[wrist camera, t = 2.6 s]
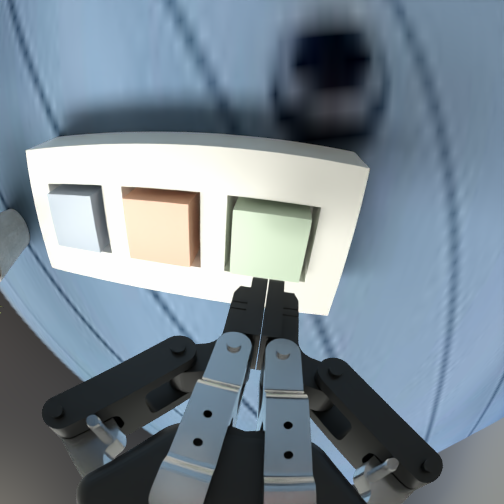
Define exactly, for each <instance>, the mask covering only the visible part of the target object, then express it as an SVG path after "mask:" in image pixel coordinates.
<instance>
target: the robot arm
mask: <svg viewBox="0 0 504 504" xmlns="http://www.w3.org/2000/svg"><path fill="white" fill-rule="evenodd" d="M267 284H268V279H266V278H258V277H253V279H252V284H251V287H245V286H240V287H239V288H238V289H237V290H236V291H235V292H234V294H233V298H232V302H231V305H230V309H229V313H228V316H227V320H226V324H225V327H224V331H223V334H222V335H221V336H220V337H219V338H218V339H217V340H215V341H213V342H211V343H206V344H195V343H194V342H193V341H192V340H191V339H190V338H188V337H185V336H173V337H170V338H168V339H166V340H164V341H162V342H161V343H159V344H157V345H155V346H153V347H151V348H149V349H147V350H146V351H144V352H142V353H140V354H138V355H136V356H134V357H132V358H130V359H128V360H126V361H124V362H123V363H121V364H119V365H117V366H115V367H113V368H111V369H109V370H107V371H105V372H103V373H101V374H99V375H97V376H95V377H93V378H91V379H89V380H87V381H85V382H83V383H81V384H79V385H77V386H75V387H73V388H71V389H69V390H67V391H65V392H63V393H60V394H58V395H57V396H54V397H52V398H50V399H49V400H48V401H47V402H46V403H45V404H44V406H43V409H42V417H43V420H44V422H45V423H46V424H47V425H48V426H49V427H50V428H51V429H52V430H53V431H54V432H55V433H56V434H57V435H58V436H59V437H60V438H61V439H62V441H63V443H64V445H65V447H66V449H67V451H68V453H69V455H70V457H71V459H72V460H73V462H74V464H75V465H76V468H77V469H78V471H79V473H80V475H81V476H82V478H83V479H82V480H81V482H80V483H79V485H78V488H77V492H76V502H77V504H402V503H403V502H404V501H405V500H406V498H408V497H409V496H410V495H411V494H412V493H413V491H414V490H416V489H418V488H420V487H423V486H425V485H427V484H429V483H431V482H433V481H434V480H436V479H437V478H438V477H439V476H440V474H441V471H442V468H443V464H442V459H441V457H440V456H439V455H438V453H437V452H436V451H435V450H434V449H432V448H431V447H430V446H429V445H428V444H427V443H426V442H425V441H424V440H423V439H422V438H421V437H420V436H419V435H418V434H417V433H416V432H415V431H414V430H413V429H412V428H411V427H410V426H409V425H408V424H407V423H406V422H405V421H404V420H403V419H402V418H401V417H400V416H399V415H398V414H397V413H396V412H395V411H394V410H393V409H392V408H391V407H390V406H389V405H388V404H387V403H386V402H385V401H384V400H383V399H382V398H381V397H380V396H379V395H378V394H377V393H376V392H375V391H374V390H373V389H372V388H371V387H370V386H369V385H368V384H367V383H366V382H365V381H364V380H363V379H362V378H361V377H360V376H359V375H358V374H357V373H356V372H355V371H354V370H353V369H352V368H351V367H350V366H349V365H348V364H347V363H346V362H345V361H343V360H341V359H338V358H328V359H325V360H323V361H322V362H320V361H318V360H315V359H312V358H310V357H308V356H307V355H305V354H304V353H303V352H302V351H301V349H300V347H299V344H298V323H299V318H298V316H299V311H298V310H299V301H298V299H297V297H296V296H295V294H294V293H289V292H284V285H285V281H281V280H273V279H269V285H268V292H267V298H266V291H267ZM265 298H266V305H265ZM264 306H265V312H264ZM263 313H264V319H263ZM262 320H263V326H262ZM261 327H262V333H261ZM260 334H261V341H260ZM259 341H260V348H259V355H258V362H257V369H256V370H261V374H260V381H259V386H258V408H257V424H256V431H243V430H240V429H237V428H235V426H236V421H237V417H238V413H239V410H240V406H241V402H242V399H243V395H244V391H245V388H246V383H247V381H248V379H249V374H250V369H255V365H256V359H257V353H258V347H259ZM189 398H190V400H189V402H188V405H187V407H186V410H185V412H184V415H183V417H182V420H181V422H180V423H177V424H174V425H171V426H168V427H166V428H164V429H162V430H161V431H159V432H158V433H156V434H155V435H153V436H152V437H150V438H148V439H147V440H145V441H144V442H142V443H141V444H139V445H137V446H136V447H134V448H133V449H131V450H129V451H127V452H126V453H124V454H122V455H121V456H119V457H117V458H115V457H116V456H117V455H118V454H119V453H120V452H122V451H123V449H124V448H125V446H126V436H127V435H128V434H130V433H132V432H134V431H136V430H137V429H139V428H141V427H143V426H145V425H146V424H148V423H150V422H151V421H153V420H155V419H157V418H158V417H160V416H162V415H163V414H165V413H167V412H168V411H170V410H171V409H173V408H175V407H176V406H178V405H180V404H181V403H183V402H184V401H186V400H187V399H189ZM310 418H311V419H312V420H313V421H314V423H315V424H316V425H317V426H318V427H319V428H320V430H321V431H322V432H323V433H324V434H325V435H326V437H327V438H328V439H329V440H330V441H331V442H332V443H333V445H334V446H335V447H336V448H337V449H338V450H339V451H340V453H341V454H342V455H343V456H344V457H345V458H346V459H347V460H348V461H349V462H350V464H351V465H352V466H353V467H354V468H355V469H356V471H355V473H354V476H353V481H354V484H355V486H356V487H357V489H358V491H359V493H358V492H357V491H356V490H355V489H354V487H353V486H352V485H351V484H350V483H349V482H348V480H347V479H346V478H345V477H344V476H343V474H342V473H341V472H340V471H339V470H338V468H337V467H336V466H335V465H334V463H333V462H332V461H331V460H330V458H329V457H328V456H327V455H326V453H325V452H324V451H323V450H322V449H321V448H320V447H318V446H317V445H315V444H314V443H312V442H311V429H310ZM114 458H115V459H114Z"/></svg>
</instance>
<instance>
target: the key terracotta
mask: <svg viewBox="0 0 504 504" xmlns="http://www.w3.org/2000/svg"><path fill="white" fill-rule="evenodd" d="M122 202H123V210H124V218H125V226H126V233H127V240H128V246H129V252H130V258H134V259H140V260H146V261H152V262H159V263H165V264H171V265H178V266H184V267H191V265H192V263H193V261H194V259H195V257H196V255H197V253H198V251H199V249H200V192H192V191H181V190H169V189H156V188H142V187H136V188H135V189H134V190H132V191H131V192H130V193H129V194H127V195H126V196H125V197H124V198H122Z"/></svg>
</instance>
